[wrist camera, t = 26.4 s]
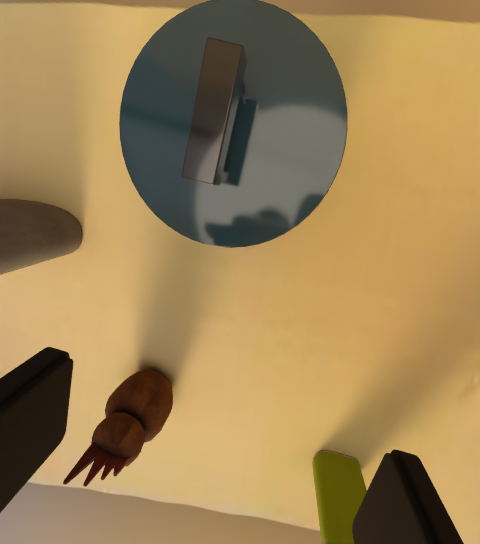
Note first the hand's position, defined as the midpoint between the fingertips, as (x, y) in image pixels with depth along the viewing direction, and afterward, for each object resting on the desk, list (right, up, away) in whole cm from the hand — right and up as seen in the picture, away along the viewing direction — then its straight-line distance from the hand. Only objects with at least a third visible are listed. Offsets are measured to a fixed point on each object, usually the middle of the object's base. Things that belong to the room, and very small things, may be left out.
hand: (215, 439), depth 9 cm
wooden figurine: (-10, -10, +31) cm, 34 cm away
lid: (0, +13, +11) cm, 17 cm away
